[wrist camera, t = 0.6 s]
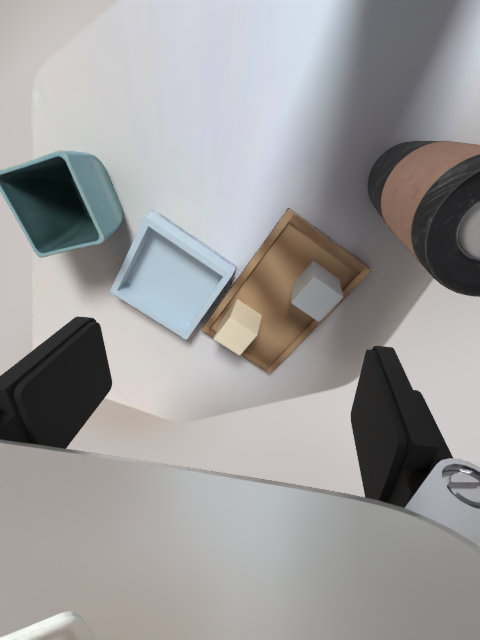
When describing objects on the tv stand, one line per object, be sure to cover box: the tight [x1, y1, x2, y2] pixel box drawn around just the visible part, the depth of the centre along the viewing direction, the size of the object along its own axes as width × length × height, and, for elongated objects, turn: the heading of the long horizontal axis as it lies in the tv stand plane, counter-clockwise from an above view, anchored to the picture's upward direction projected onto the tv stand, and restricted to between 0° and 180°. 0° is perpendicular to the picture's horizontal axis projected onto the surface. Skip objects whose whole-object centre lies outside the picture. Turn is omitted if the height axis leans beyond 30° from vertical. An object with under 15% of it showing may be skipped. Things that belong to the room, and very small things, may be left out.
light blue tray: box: [110, 211, 237, 340], centre depth 43 cm, size 12×12×3 cm
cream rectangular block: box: [214, 299, 262, 356], centre depth 43 cm, size 4×4×5 cm
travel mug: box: [368, 141, 480, 297], centre depth 25 cm, size 8×8×20 cm
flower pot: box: [0, 150, 123, 257], centre depth 36 cm, size 9×9×9 cm
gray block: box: [291, 260, 343, 322], centre depth 38 cm, size 4×4×5 cm
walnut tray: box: [201, 208, 371, 374], centre depth 43 cm, size 20×12×1 cm, turn 147°
